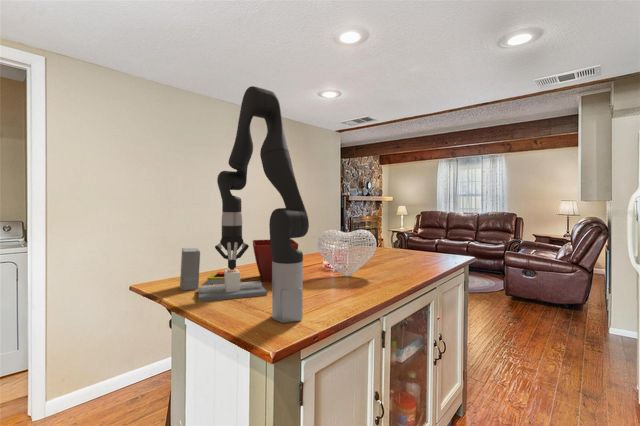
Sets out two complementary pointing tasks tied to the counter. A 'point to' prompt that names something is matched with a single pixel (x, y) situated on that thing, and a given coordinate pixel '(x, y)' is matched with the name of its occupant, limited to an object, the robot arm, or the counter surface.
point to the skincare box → (190, 269)
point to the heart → (368, 256)
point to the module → (232, 280)
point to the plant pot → (265, 258)
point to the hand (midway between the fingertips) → (231, 269)
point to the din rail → (223, 287)
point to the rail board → (231, 294)
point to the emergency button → (216, 279)
